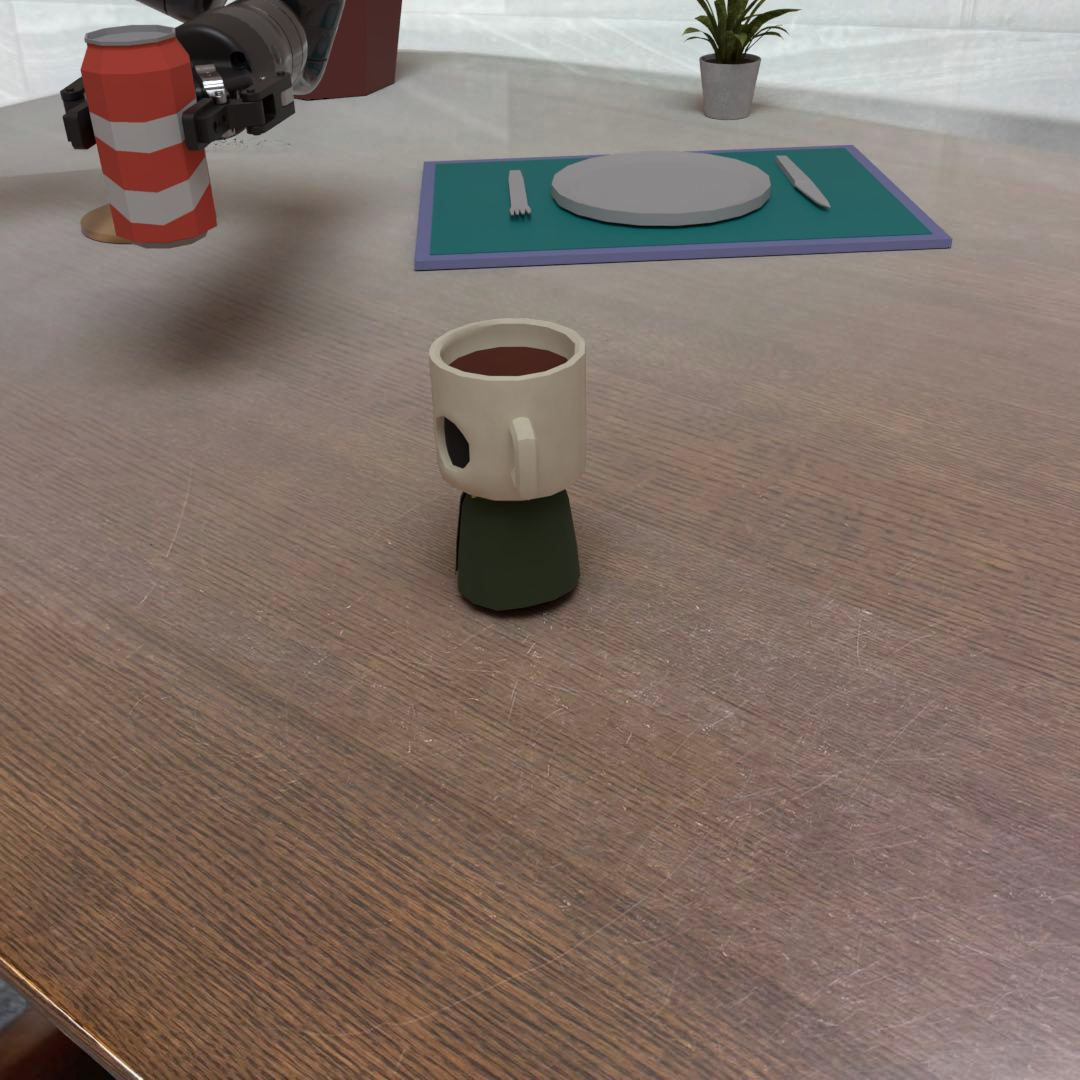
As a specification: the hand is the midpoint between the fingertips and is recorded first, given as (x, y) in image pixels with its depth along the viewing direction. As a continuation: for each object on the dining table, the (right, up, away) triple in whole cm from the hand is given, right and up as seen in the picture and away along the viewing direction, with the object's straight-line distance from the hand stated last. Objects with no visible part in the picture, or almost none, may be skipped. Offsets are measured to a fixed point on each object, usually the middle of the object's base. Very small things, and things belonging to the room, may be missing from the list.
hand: (131, 132), depth 70 cm
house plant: (+45, +26, +71) cm, 88 cm away
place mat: (+35, +8, +43) cm, 56 cm away
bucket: (-4, +36, +90) cm, 97 cm away
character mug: (+23, -26, -9) cm, 36 cm away
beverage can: (0, -5, +6) cm, 8 cm away
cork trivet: (-13, +6, +42) cm, 45 cm away
